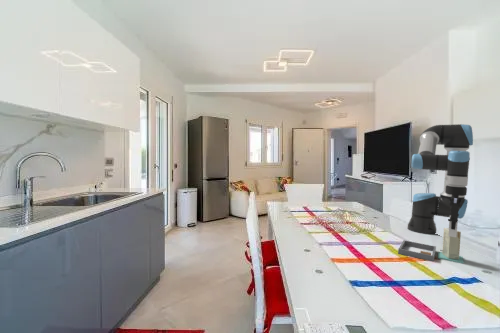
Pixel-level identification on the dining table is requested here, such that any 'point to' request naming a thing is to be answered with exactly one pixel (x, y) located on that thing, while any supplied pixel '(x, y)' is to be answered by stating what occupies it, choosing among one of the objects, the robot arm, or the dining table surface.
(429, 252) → the walnut box
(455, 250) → the skincare box
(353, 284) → the dining table surface
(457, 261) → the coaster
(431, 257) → the tray
